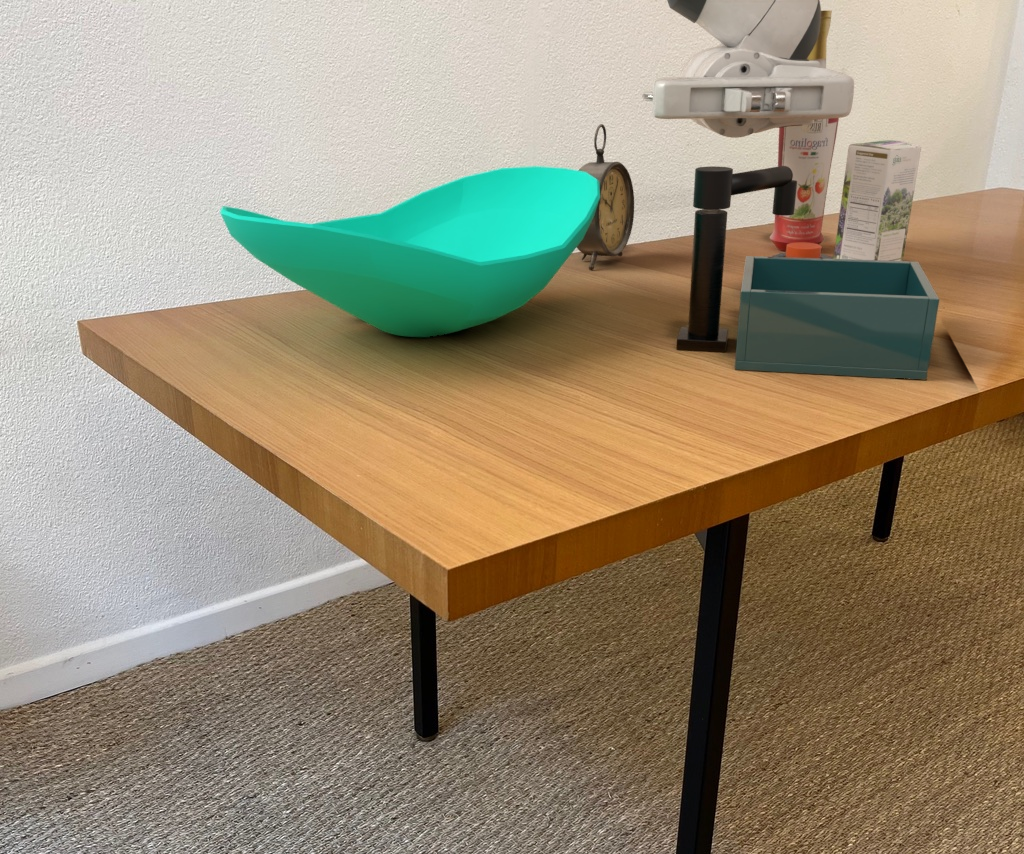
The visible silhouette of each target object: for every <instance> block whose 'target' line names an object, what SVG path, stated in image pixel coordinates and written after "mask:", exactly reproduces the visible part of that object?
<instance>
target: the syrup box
mask: <svg viewBox="0 0 1024 854" xmlns="http://www.w3.org/2000/svg"><path fill="white" fill-rule="evenodd" d="M921 152H922V146H921V145H920V144H916V143H913V142H909V141H908V142H907V141H904V140H903V141H902V140H893V139H888V140H884V139H883V140H874V141H866V142H858V143H851V144H848V149H847V157H846V164H845V171H844V178H843V186H842V193H841V201H840V208H839V216H838V221H837V222H838V224H837V231H836V238H835V246H834V252H833V258H834V259H853V260H883V261H904V256H905V249H906V243H907V236H908V231H909V227H910V226H909V224H910V218H911V212H912V207H913V201H914V195H915V188H916V183H917V176H918V170H919V164H920V158H921Z"/></svg>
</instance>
